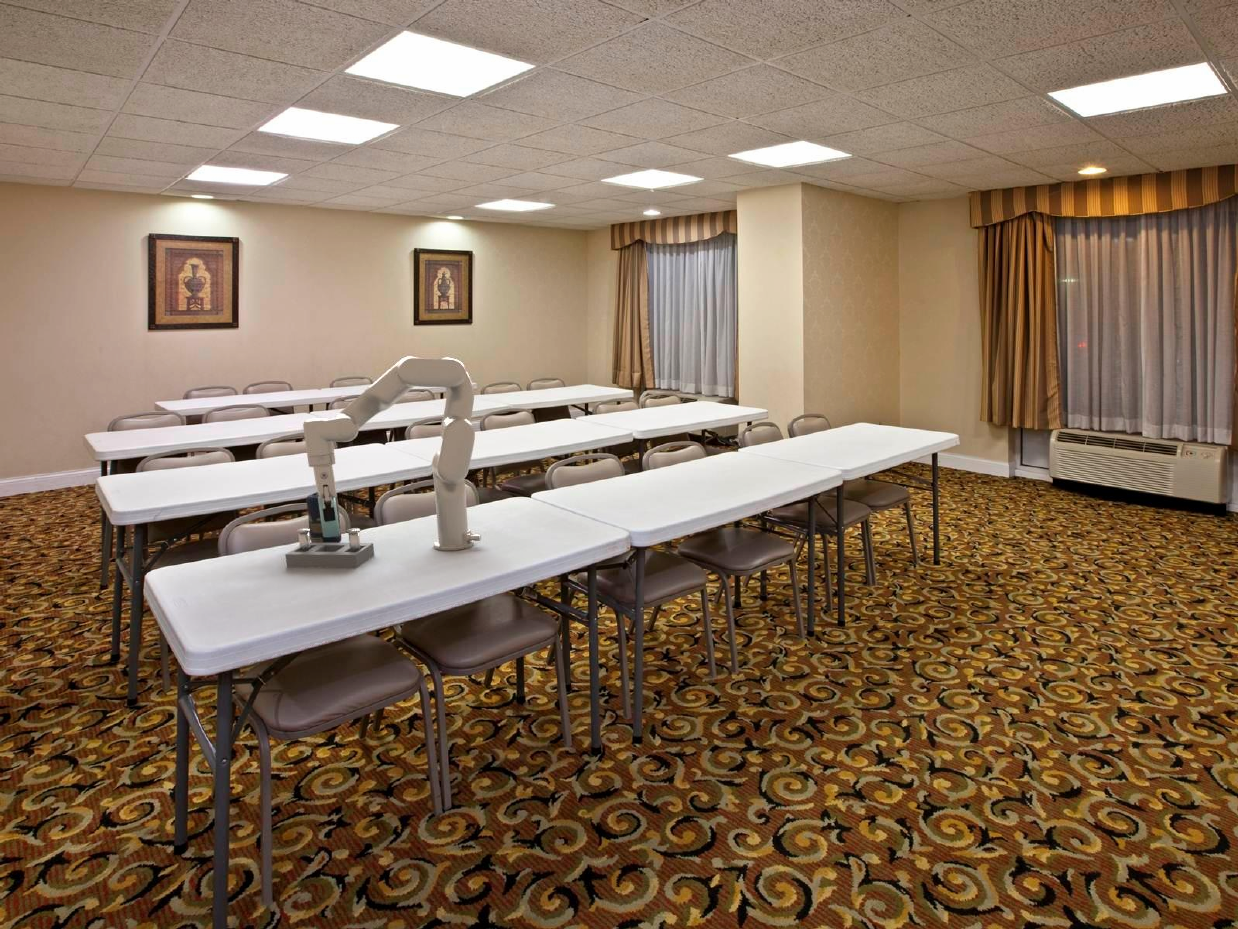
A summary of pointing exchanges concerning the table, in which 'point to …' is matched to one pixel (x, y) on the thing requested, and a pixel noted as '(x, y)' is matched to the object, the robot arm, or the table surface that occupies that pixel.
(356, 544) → the plunger
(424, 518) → the table surface
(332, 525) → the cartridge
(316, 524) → the canister
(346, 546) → the housing
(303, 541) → the plunger
